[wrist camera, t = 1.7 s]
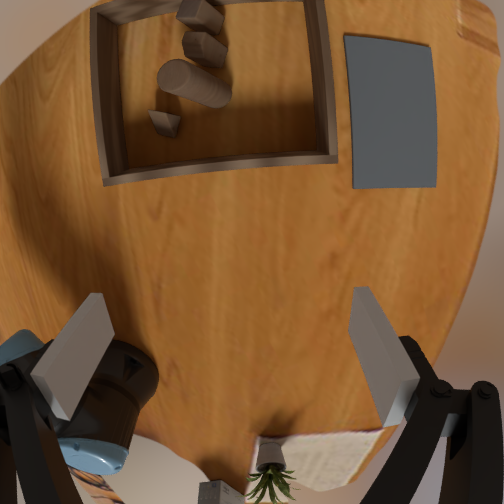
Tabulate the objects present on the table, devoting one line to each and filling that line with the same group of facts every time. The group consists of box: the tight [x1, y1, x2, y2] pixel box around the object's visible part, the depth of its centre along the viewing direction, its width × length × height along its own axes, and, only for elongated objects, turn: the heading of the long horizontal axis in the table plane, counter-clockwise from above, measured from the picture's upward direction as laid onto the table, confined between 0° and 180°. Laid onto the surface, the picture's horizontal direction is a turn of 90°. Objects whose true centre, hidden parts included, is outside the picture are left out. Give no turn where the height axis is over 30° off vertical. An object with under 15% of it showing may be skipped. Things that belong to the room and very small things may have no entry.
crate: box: [90, 0, 338, 187], centre depth 34 cm, size 28×24×7 cm
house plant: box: [235, 443, 299, 504], centre depth 58 cm, size 14×14×16 cm
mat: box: [343, 36, 437, 189], centre depth 38 cm, size 14×22×1 cm, turn 5°
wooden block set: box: [148, 0, 232, 138], centre depth 32 cm, size 18×9×10 cm, turn 164°
